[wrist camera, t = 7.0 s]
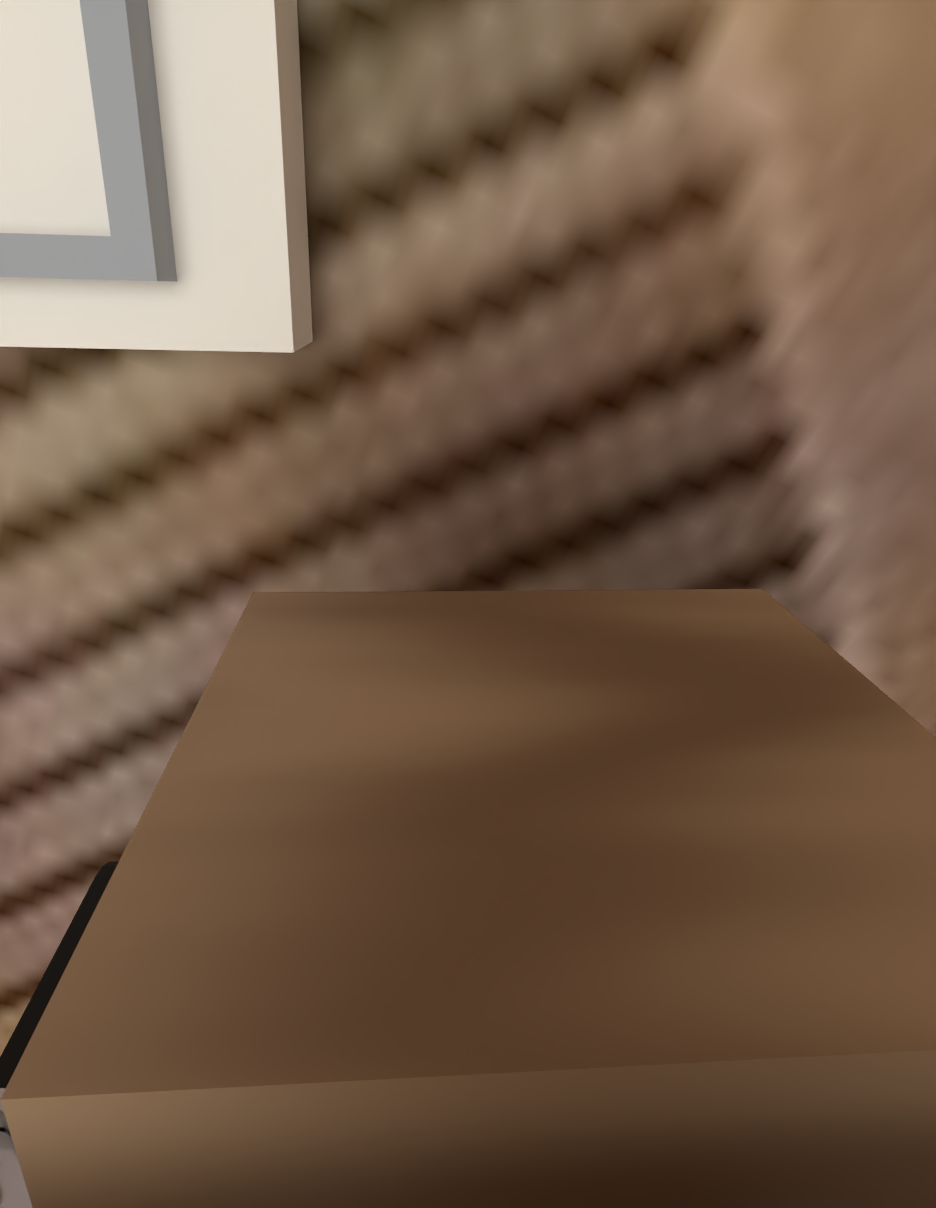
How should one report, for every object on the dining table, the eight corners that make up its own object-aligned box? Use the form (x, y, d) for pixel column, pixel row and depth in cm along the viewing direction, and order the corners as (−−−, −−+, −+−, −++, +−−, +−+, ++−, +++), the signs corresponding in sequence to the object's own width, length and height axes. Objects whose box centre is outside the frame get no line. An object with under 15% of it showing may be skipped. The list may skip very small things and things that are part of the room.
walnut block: (763, 588, 9) (1556, 1271, 3) (697, 965, 12) (1059, 1817, 5) (253, 592, 9) (-154, 1406, 2) (288, 983, 11) (125, 1938, 5)
